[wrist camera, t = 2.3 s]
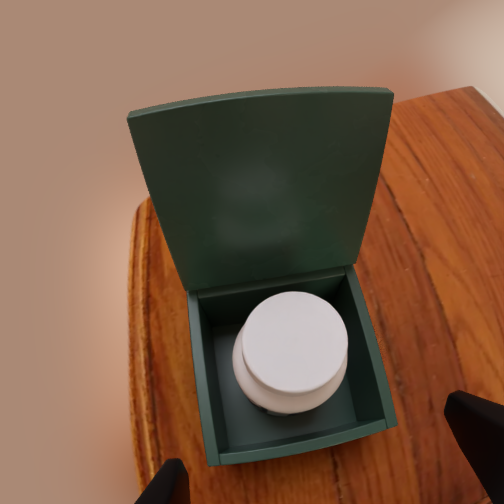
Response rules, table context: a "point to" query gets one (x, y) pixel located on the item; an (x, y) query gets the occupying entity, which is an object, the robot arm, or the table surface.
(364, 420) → the green square box
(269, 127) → the lid
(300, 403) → the pill bottle
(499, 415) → the robot arm
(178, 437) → the table surface
